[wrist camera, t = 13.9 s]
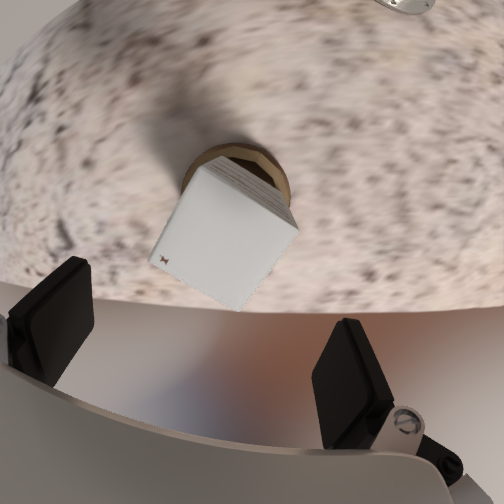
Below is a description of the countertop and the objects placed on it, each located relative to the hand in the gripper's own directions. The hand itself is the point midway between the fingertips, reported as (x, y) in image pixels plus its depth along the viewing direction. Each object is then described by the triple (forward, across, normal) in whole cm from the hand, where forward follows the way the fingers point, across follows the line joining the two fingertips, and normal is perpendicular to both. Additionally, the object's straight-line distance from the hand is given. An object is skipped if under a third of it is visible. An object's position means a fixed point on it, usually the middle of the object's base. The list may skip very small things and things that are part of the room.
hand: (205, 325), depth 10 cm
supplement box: (+21, 0, 0) cm, 21 cm away
